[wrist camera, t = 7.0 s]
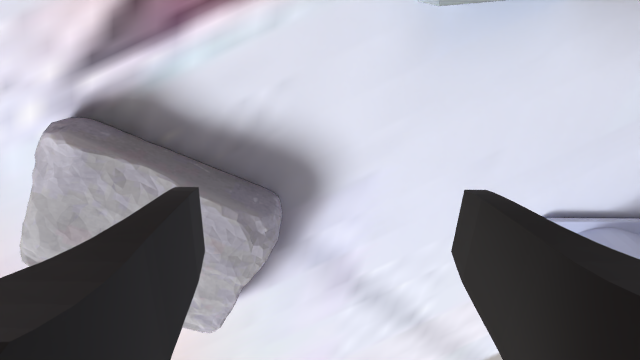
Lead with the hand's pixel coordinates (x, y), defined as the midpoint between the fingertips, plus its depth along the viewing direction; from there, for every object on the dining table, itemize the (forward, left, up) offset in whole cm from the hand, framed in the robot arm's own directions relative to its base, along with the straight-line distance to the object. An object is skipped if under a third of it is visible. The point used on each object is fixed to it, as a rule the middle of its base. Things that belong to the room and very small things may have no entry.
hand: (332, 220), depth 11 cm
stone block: (+9, +7, -11) cm, 16 cm away
